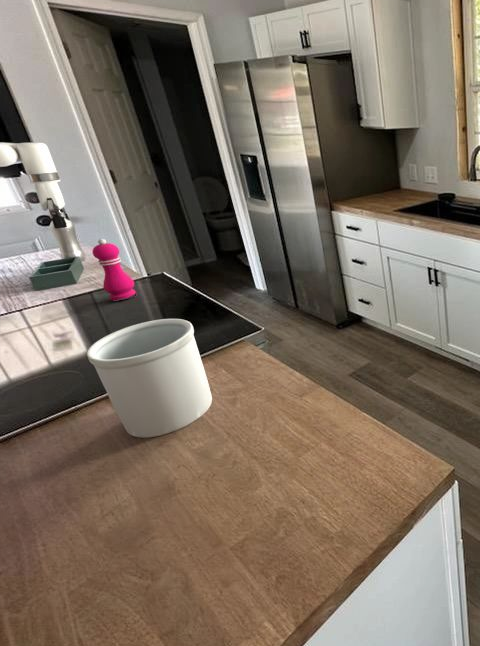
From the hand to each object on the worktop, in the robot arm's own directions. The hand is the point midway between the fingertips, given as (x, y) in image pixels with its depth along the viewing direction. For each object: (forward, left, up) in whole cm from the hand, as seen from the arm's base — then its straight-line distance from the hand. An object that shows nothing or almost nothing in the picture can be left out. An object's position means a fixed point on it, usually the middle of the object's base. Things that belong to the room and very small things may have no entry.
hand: (62, 225), depth 156 cm
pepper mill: (+15, -51, -17) cm, 56 cm away
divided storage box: (-4, -14, -17) cm, 22 cm away
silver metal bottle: (-1, 0, -15) cm, 15 cm away
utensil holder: (+26, -131, -17) cm, 135 cm away
